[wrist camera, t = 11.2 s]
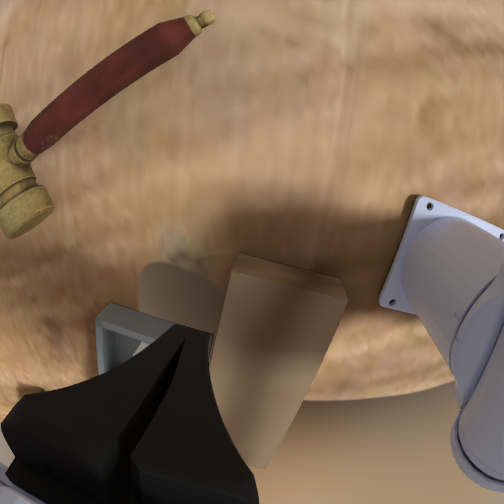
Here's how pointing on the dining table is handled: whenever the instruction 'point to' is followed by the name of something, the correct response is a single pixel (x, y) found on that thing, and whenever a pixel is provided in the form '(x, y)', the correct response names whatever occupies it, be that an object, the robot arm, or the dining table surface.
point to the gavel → (77, 116)
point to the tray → (125, 334)
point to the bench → (270, 349)
